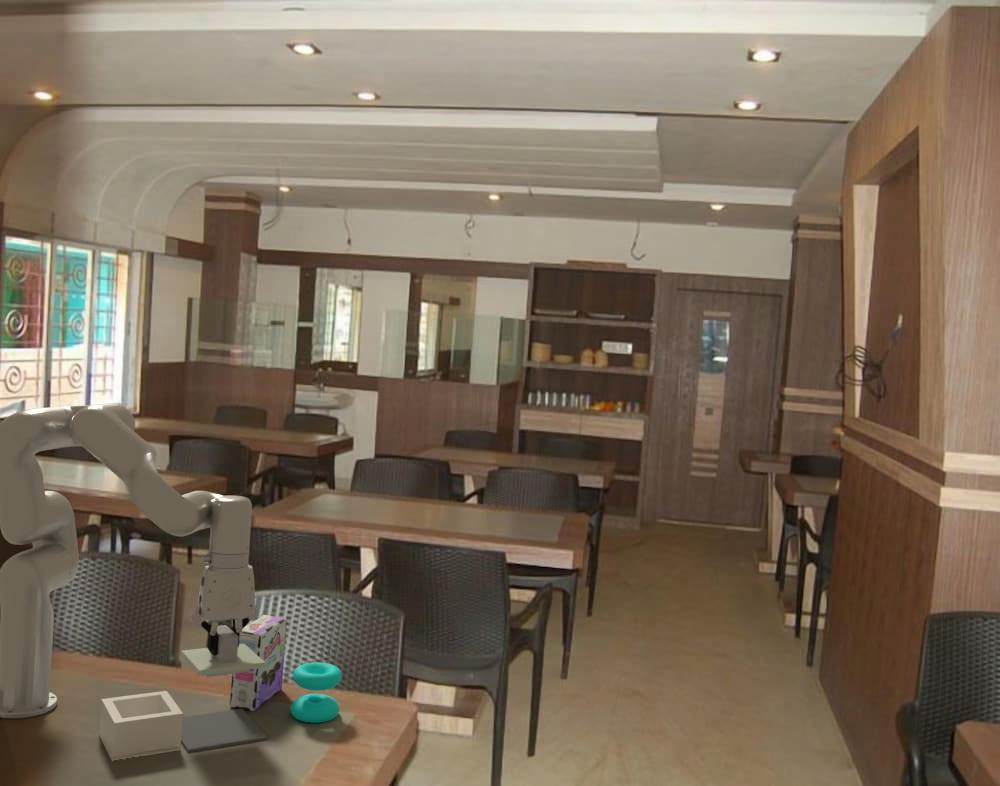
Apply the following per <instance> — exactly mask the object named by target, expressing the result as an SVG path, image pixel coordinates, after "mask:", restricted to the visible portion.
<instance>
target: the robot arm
mask: <svg viewBox="0 0 1000 786" xmlns="http://www.w3.org/2000/svg"><path fill="white" fill-rule="evenodd" d="M135 429H136V421H135V417H134V415H133V413H132V412H131V411H130V410H129V409H128V408H126V407H125V406H124V405H121V404H119V403H114V402H113V403H112V402H111V403H102V404H101V403H100V404H87V405H65V406H64V405H63V406H51V407H39V408H38V407H37V408H29V409H24V410H21V411H20V410H19V411H16V412H15V413H13V414H10V415H9V416H7V417H6V418H4V419H3V420H2V421H0V531H1V535H2V536H3V538H4V539H5V540H6V541H7V542H8V543H9V544H11V545H18V546H19V545H20V546H21V545H22V546H23V545H28V544H32V548H30V549H29V548H28V549H26V550H23V551H21V552H18V553H16V554H14V555H12V556H11V557H9V558H8V559H7V560H6V561H5V562H4V563H3V564H2V566H1V567H0V718H1V719H25V718H26V719H27V718H32V717H36V716H41V715H44V714H46V713H49V712H51V711H52V710H54V708H56V707H57V704H58V697H57V695H56V694H54V693H53V692H50V690H51V689H50V687H51V685H50V684H51V671H52V654H53V653H52V652H53V638H54V620H55V619H54V618H55V617H54V616H55V615H54V610H53V605H52V603H51V599H50V593H51V592H53V591H55V590H58V589H60V588H62V587H64V586H65V585H68V584H69V583H70V582H71V581H73V579H74V578H75V577H76V575H77V573H78V570H79V567H80V555H79V554H80V553H79V547H78V546H79V545H78V536H77V530H76V529H77V527H76V519H75V513H74V509H73V507H72V504H71V503H70V501H69V500H68V499H67V497H66V496H64V495H63V494H61V493H60V492H57V491H54V490H46V489H45V485H44V474H43V471H42V468H41V465H40V463H39V461H38V460H37V458H36V454H38V453H39V452H42V451H49V450H56V449H62V448H71V447H81V448H84V450H86V451H87V452H88V453H90V454H91V455H92V456H93V457H94V458H96V459H97V460H98V461H99V462H100V463H101V464H102V465H103V466H105V467H106V468H107V470H108V469H109V470H110V471H111V472H112V473H113V474H114V475H115V476H116V477H118V478H119V479H120V480H121V481H122V482H123V484H124V486H125V489H126V490H125V491H127V494H128V495H129V496H130V499H131V501H132V503H134V505H135V507H136V508H137V509H138V510H139V512H141V513H142V514H143V515H144V516H145V517H146V518H147V519H149V520H150V521H151V522H152V523H153V524H155V525H156V526H157V527H159V529H161V530H162V531H164V532H165V533H167V534H169V535H172V536H175V537H185V536H189V535H191V534H193V533H196V532H198V531H200V530H201V531H202V530H205V529H209V528H210V529H209V530H210V531H209V532H210V535H209V548H208V549H209V550H207V554H203V555H202V554H201V556H200V559H201V563H205V564H207V565H205V566H204V569H203V573H202V577H201V581H200V586H199V593H198V601H197V607H196V608H195V610H194V612H193V614H192V615H191V617H190V622H191V623H192V624H194V625H196V626H198V627H202V629H204V630H205V631H206V633H207V634H208V635H207V636H208V637H207V648H208V650H209V651H210V652H211V653H212V654H213V655H214V656H217V654H218V640H219V636H218V635H217V627H218V626H219V622H221V621H223V622H224V621H231V628H230V629H231V630H232V631H233V632H234V633H235V634H236V635H238V647H239V636H240V633H241V632H242V629H243V628H244V627H245V626H246V625H248V624H250V622H253V620H256V619H258V617H259V612H258V610H257V607H256V603H255V602H256V593H255V576H254V567H253V565H250V564H249V561H250V560H249V557H250V543H251V542H250V540H251V530H252V529H251V527H252V526H251V525H252V515H253V514H252V512H253V509H252V507H253V504H252V501H251V500H250V499H249V498H248V497H246V496H242V495H231V494H230V495H223V494H218V493H215V492H211V491H208V490H207V491H206V490H194V491H190V492H188V493H184V494H180V493H179V492H178V491H177V490H175V488H173V487H172V486H170V484H168V482H167V481H166V480H165V479H163V478H162V476H161V475H160V473H159V472H158V470H157V466H156V459H157V451H156V449H155V447H154V446H152V444H150V443H149V442H147V441H146V440H145V439H144V438H142V437H141V436H140V435H139V434H138V433H137V432H135Z"/></svg>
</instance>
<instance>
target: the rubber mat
mask: <svg viewBox="0 0 1000 786" xmlns="http://www.w3.org/2000/svg"><path fill="white" fill-rule="evenodd" d="M267 738H268V737H267V735H266V734H265V733H264V732H263V731H262V730H261V729H260V727H259V726H258V725H257V724H256V723H255V722H254V720H252V718H251V717H250V716H249V715H248V713H247V712H246V711H245V709H240V708H235V709H231V710H224V711H216V712H209V713H203V714H196V715H195V714H194V715H190V716H183V719H182V734H181V745H183V748H184V749H185V750H186V752H187V753H193V752H198V751H203V750H211V749H216V748H222V747H223V748H224V747H229V746H235V745H241V744H248V743H254V742H259V741H264V740H267Z"/></svg>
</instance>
